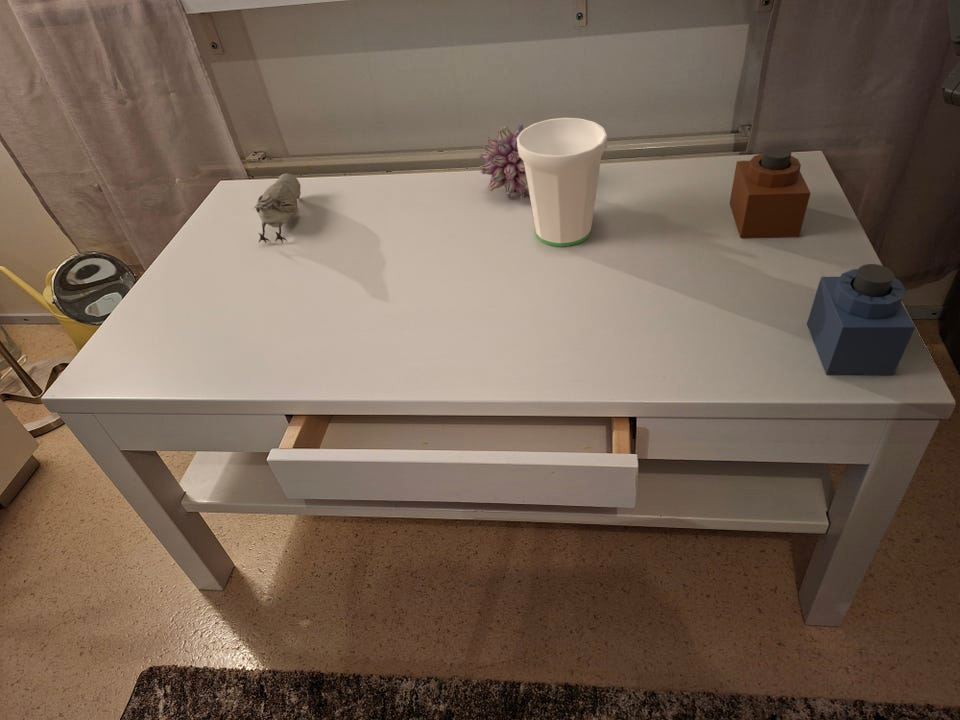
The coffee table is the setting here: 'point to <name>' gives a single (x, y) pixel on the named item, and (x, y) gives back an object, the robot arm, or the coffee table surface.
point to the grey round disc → (776, 158)
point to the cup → (562, 176)
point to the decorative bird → (278, 203)
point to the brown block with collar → (768, 199)
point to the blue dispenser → (859, 327)
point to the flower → (505, 162)
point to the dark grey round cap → (873, 280)
